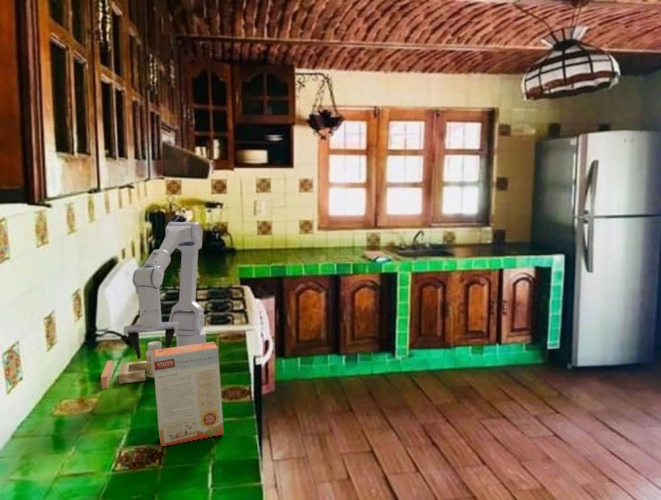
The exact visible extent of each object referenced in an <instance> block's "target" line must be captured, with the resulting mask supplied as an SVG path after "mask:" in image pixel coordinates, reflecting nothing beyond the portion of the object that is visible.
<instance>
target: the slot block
mask: <svg viewBox="0 0 661 500" xmlns="http://www.w3.org/2000/svg"><path fill="white" fill-rule="evenodd" d="M146 372H147V362H146V360H141V361H135V362H134V361H133V362H123V363H122V364H121V367H120V370H119V373H118V380H119V384H128V383H135V382H137V383H138V382H144V381H145V382H146V379H147V378H146Z"/></svg>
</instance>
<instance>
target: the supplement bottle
mask: <svg viewBox="0 0 661 500" xmlns="http://www.w3.org/2000/svg"><path fill="white" fill-rule="evenodd" d="M162 343H163V342H162V341H158V340H157V341H150V342H147V349H148V350H147V351H146V352H145V361H146V362H147V371H146V372H147V374H146V375H147V376H148V377H149V378H154V365H153V353H152V351H153V350H157V349H163V348H162V347H163V344H162Z"/></svg>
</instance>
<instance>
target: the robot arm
mask: <svg viewBox="0 0 661 500" xmlns="http://www.w3.org/2000/svg"><path fill="white" fill-rule="evenodd" d="M164 230H165V231H164V232H165V237H164V239H163V240H162V243H161V245H160V246H159V249H158V248H157V249H154V250H153V251H152V252H151V254H150V255H149V257H148V258H147V259H146V261H145V262H144V264H143V265H142V267H141V266H140V267H137V268H136V269H135V270H134V272H133V275H132V280H131V281H132V284H133V286H134V288H135V293H136V295H137V296H138V308H139V309H138V310H139V320H140V321H139V323H138V324H133V325H132V324H131V325H127V326H126V325H124V326H123V335H125V336H126V335H127V336H128V337H127V338H128V341H129V342H130V344H131V345H132V347H133V348H134V351H135V354H136V357H137V360H140V359H141V358H142V354H141V347H140V333H141V334H142V333H153V332H163V331H165V332H164V336H165V348H171V345H172V344H171V343H172V341H173V338H174V335H175V337H176V347H179V346H186V345H193V344H201V343H207V333H206V330H203V329H204V328H205V322H206V320H205V314H204V312H205V310H204V308H203V307H202V306H201V305H200V304H199V303H198V302H196V299H197V298H196V297H197V295H196V293H197V276H198V260H199V259H198V258H199V250H200V249H202V246H203V228H202V225H201V224H200V222H198V221H192V222H191V221H188V222H187V221H182V222H181V221H170V222H168V224H167V225H166V226H165V229H164ZM175 249H177V250H179V251H180V252H181V260H180V261H181V262H180V279H179V297H178V302H177V303H176V304H174V305H173V306H172V307H171V312H170V315H169V319H168V321H163V320H162V309H161V308H162V307H161V295H160V294H161V293H160V287H161V286H162V284H163V281H164V280H163V279H164V276H165V270H166V269H167V267H168V266H169V265H170V263H171V255H172V253H173V252H174V251H175Z"/></svg>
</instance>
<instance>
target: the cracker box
mask: <svg viewBox="0 0 661 500" xmlns="http://www.w3.org/2000/svg"><path fill="white" fill-rule="evenodd" d="M152 353H153V365H154V377H153V378H154V389H155V390H154V391H155V400H156V401H155V402H156V411H157V413H156V415H157V424H158V433H159V441H160V446H165V447H168V446H167V445H170V446H173V444H175V445H178V444H177V443H180V444H183V442H185V443H188V441H190V442H194V441H193V440H195V441H199V440H198V439H200V440H204V439H203V438H205V439H209V438H208V437H210V438H213V437H212V436H216V437H220V436H219V435H221V436H224V435H223V434H224V433H225V432H224V420H223V419H224V415H223V404H222V403H223V402H222V401H223V400H222V389H221V373H220V360H219V359H220V358H219V348H218V345H217V344H216V343H215V341H210V342H206V343H201V344H193V345H186V346H179V347H177V346H175V347H170V348H166V347H165V348H162V349H157V350H153V351H152Z"/></svg>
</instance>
